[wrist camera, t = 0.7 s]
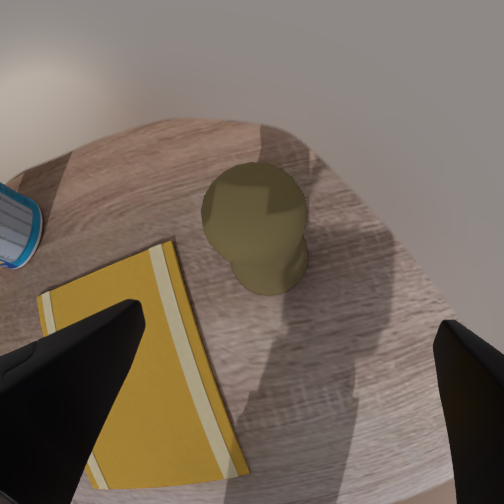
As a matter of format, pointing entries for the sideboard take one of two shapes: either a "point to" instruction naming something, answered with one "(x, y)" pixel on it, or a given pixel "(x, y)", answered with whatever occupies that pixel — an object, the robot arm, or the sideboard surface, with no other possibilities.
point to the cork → (258, 226)
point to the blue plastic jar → (18, 228)
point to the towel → (153, 380)
